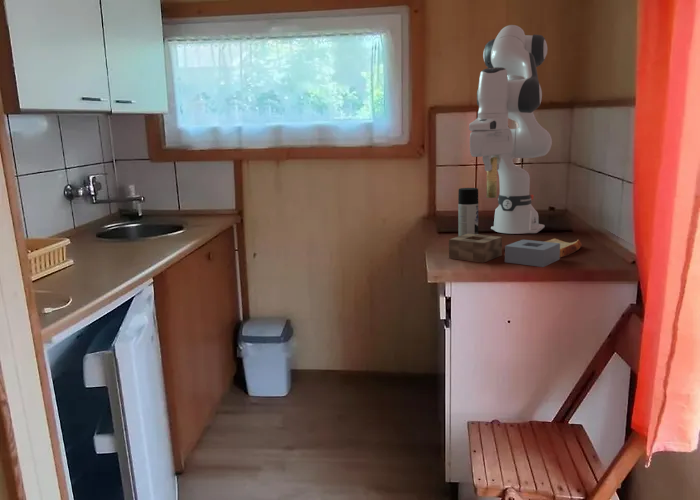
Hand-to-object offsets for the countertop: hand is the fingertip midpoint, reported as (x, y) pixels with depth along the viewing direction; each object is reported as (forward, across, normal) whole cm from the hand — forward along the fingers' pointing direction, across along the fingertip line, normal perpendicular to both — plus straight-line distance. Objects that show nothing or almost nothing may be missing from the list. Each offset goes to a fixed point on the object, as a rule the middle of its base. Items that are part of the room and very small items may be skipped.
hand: (491, 170), depth 175 cm
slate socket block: (+27, -3, +12) cm, 30 cm away
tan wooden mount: (+27, +1, -5) cm, 28 cm away
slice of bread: (+28, -21, +14) cm, 37 cm away
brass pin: (+8, 0, 0) cm, 8 cm away
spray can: (+27, -12, -15) cm, 33 cm away
